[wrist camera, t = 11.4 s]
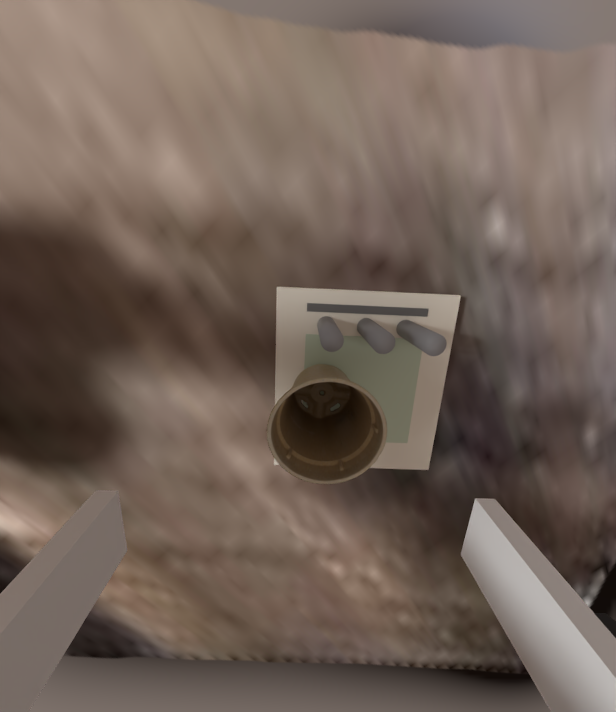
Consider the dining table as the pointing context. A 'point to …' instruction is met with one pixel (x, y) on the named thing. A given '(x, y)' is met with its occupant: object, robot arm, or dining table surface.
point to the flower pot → (326, 427)
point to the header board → (374, 356)
